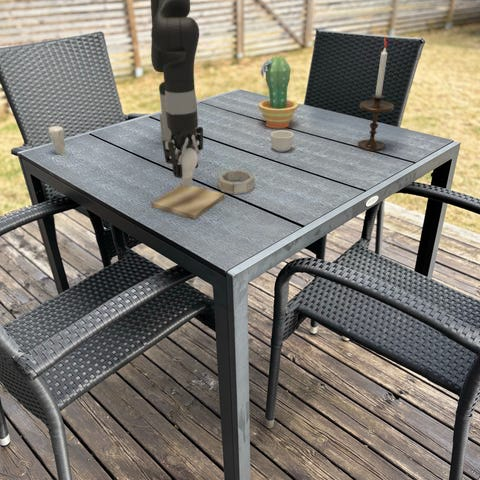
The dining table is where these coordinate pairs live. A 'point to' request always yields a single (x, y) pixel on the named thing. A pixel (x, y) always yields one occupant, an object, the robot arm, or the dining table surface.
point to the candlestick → (376, 108)
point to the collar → (237, 186)
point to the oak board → (188, 201)
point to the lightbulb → (188, 165)
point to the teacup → (282, 140)
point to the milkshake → (58, 139)
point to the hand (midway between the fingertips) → (186, 172)
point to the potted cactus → (277, 94)
